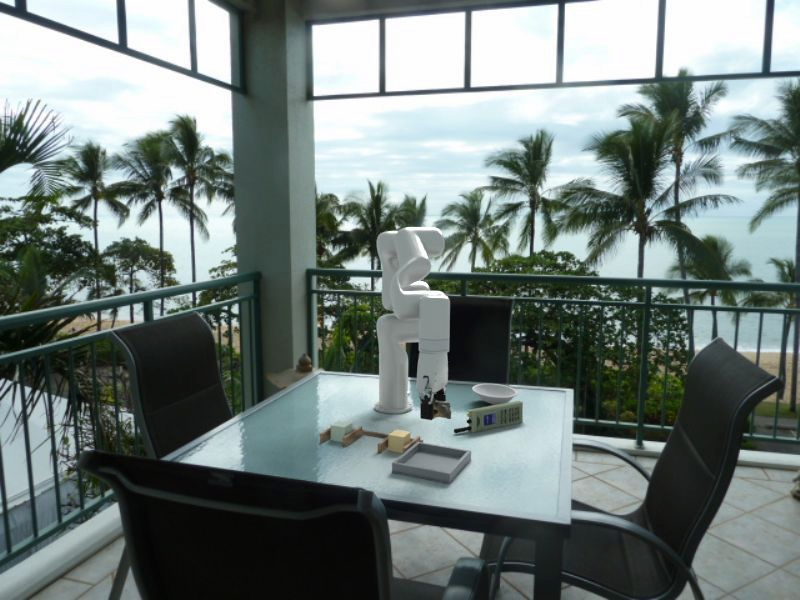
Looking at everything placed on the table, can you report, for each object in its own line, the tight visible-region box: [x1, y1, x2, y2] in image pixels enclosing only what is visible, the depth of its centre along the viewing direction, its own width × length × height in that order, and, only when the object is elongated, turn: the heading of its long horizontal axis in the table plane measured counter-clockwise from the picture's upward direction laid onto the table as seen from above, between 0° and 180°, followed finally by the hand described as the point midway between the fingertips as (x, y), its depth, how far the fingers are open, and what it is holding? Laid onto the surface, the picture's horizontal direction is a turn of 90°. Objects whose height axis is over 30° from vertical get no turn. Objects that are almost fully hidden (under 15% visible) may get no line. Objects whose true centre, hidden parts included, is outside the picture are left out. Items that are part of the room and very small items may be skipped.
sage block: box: [330, 419, 353, 443], centre depth 168 cm, size 4×4×4 cm
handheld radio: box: [453, 400, 524, 434], centre depth 178 cm, size 7×3×25 cm
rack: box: [319, 426, 424, 454], centre depth 165 cm, size 12×26×2 cm, turn 65°
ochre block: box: [387, 429, 412, 454], centre depth 160 cm, size 4×4×4 cm
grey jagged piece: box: [432, 399, 452, 420], centre depth 147 cm, size 8×6×7 cm
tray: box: [391, 441, 472, 485], centre depth 149 cm, size 16×15×2 cm
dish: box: [471, 383, 519, 406], centre depth 201 cm, size 18×14×5 cm
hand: (433, 413), depth 148 cm, fingers closed on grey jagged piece, 7 cm apart
